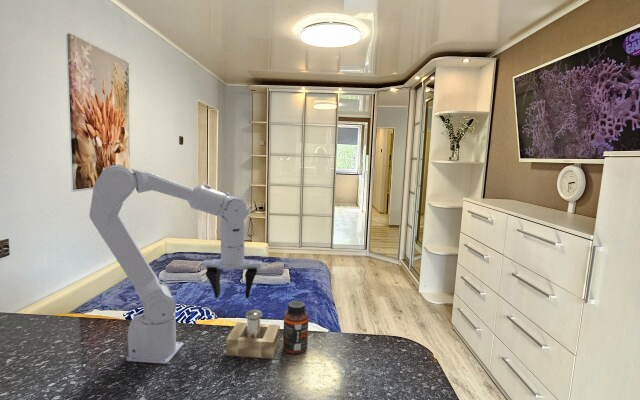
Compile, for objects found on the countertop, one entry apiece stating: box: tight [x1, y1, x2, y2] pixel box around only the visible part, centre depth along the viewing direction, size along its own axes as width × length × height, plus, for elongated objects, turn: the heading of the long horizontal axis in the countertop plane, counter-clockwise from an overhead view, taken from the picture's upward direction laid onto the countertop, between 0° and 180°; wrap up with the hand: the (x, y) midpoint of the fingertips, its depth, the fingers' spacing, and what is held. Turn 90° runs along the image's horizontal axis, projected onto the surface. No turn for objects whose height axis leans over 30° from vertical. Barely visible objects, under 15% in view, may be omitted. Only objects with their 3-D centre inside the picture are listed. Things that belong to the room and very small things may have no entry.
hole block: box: [225, 322, 281, 360], centre depth 81 cm, size 11×8×4 cm
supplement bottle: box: [282, 300, 309, 355], centre depth 81 cm, size 6×6×11 cm
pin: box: [245, 309, 263, 338], centre depth 80 cm, size 4×4×9 cm
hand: (232, 296), depth 85 cm, fingers open, 7 cm apart
